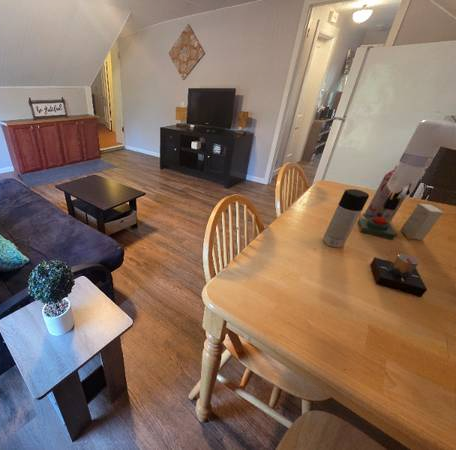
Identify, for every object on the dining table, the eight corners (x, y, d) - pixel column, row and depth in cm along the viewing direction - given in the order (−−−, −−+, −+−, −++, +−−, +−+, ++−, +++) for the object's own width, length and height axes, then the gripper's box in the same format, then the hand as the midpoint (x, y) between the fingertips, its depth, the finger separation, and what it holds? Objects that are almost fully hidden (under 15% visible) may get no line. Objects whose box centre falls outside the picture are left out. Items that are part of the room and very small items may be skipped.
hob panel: (410, 275, 75) (416, 267, 73) (420, 297, 67) (427, 289, 66) (370, 264, 79) (374, 256, 77) (376, 284, 71) (381, 276, 70)
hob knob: (387, 265, 74) (397, 251, 71) (406, 269, 72) (416, 256, 70) (391, 274, 71) (401, 260, 68) (411, 279, 69) (422, 265, 66)
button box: (387, 228, 98) (392, 220, 95) (393, 239, 91) (398, 231, 89) (357, 222, 102) (361, 213, 100) (360, 232, 95) (365, 223, 93)
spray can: (348, 247, 87) (375, 196, 76) (331, 249, 86) (356, 197, 75) (333, 236, 92) (357, 187, 82) (317, 238, 91) (339, 188, 81)
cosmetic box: (399, 230, 97) (417, 202, 90) (412, 231, 96) (431, 204, 89) (410, 239, 91) (429, 210, 85) (423, 240, 91) (444, 212, 84)
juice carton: (378, 222, 101) (408, 172, 90) (363, 215, 107) (389, 166, 95) (391, 221, 103) (421, 170, 91) (375, 213, 108) (402, 165, 97)
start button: (383, 221, 95) (385, 218, 94) (385, 226, 92) (387, 222, 91) (372, 219, 96) (374, 215, 96) (373, 223, 94) (376, 219, 93)
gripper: (395, 153, 88) (372, 199, 98) (407, 164, 77) (379, 214, 87) (423, 156, 85) (396, 203, 95) (439, 167, 74) (407, 219, 84)
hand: (388, 208), depth 91 cm, fingers closed
